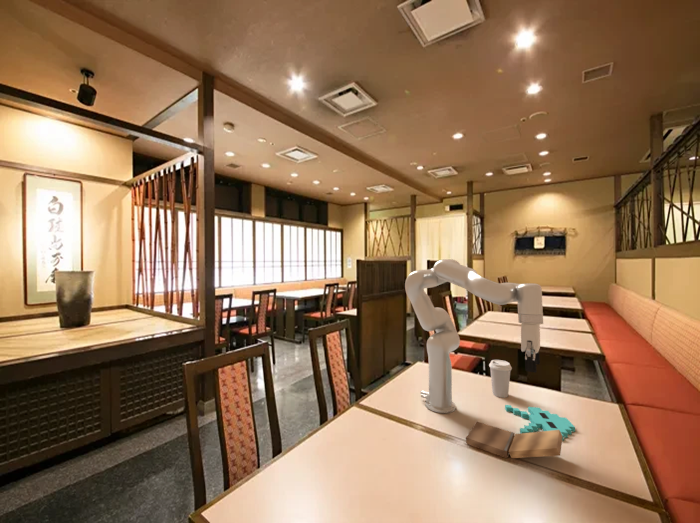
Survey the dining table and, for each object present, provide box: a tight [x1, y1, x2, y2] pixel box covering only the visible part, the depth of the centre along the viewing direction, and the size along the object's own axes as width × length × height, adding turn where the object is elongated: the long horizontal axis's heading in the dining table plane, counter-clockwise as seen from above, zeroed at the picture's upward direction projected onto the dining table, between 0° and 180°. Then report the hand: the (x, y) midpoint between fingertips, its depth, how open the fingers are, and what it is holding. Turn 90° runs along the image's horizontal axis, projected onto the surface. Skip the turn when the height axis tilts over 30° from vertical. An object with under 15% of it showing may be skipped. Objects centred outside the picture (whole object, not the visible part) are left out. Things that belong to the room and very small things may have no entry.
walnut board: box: [465, 420, 516, 459], centre depth 105 cm, size 13×13×2 cm
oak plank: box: [508, 430, 563, 459], centre depth 96 cm, size 14×12×2 cm
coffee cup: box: [488, 359, 513, 399], centre depth 141 cm, size 10×10×15 cm
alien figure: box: [504, 404, 576, 442], centre depth 115 cm, size 20×2×20 cm
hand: (532, 367), depth 105 cm, fingers open, 9 cm apart
